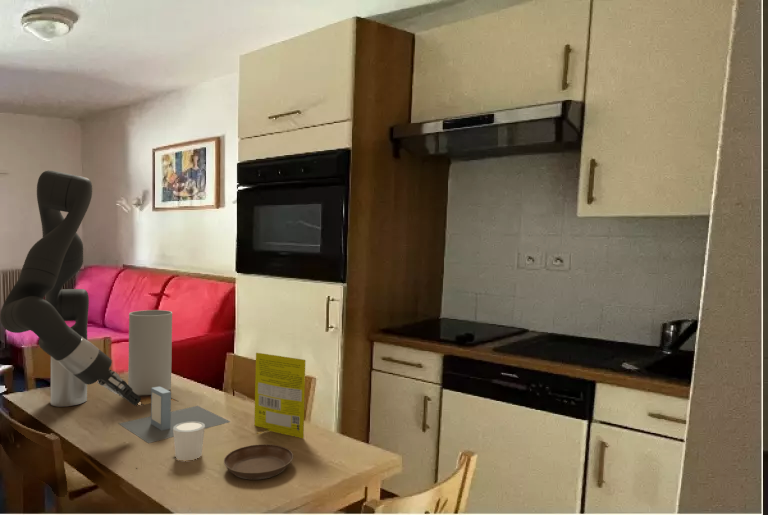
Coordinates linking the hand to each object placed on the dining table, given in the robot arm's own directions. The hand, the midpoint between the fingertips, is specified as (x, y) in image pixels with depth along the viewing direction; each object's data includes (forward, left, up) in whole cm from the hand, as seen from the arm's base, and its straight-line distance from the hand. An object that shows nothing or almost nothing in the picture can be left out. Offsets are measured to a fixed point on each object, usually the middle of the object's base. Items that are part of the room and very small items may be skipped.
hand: (137, 401), depth 134 cm
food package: (+23, +26, -9) cm, 36 cm away
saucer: (+37, +11, -9) cm, 39 cm away
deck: (0, +6, -8) cm, 10 cm away
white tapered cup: (+21, +3, -9) cm, 23 cm away
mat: (0, +10, -8) cm, 13 cm away
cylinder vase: (-34, +18, -8) cm, 40 cm away
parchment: (-18, +14, -9) cm, 25 cm away
